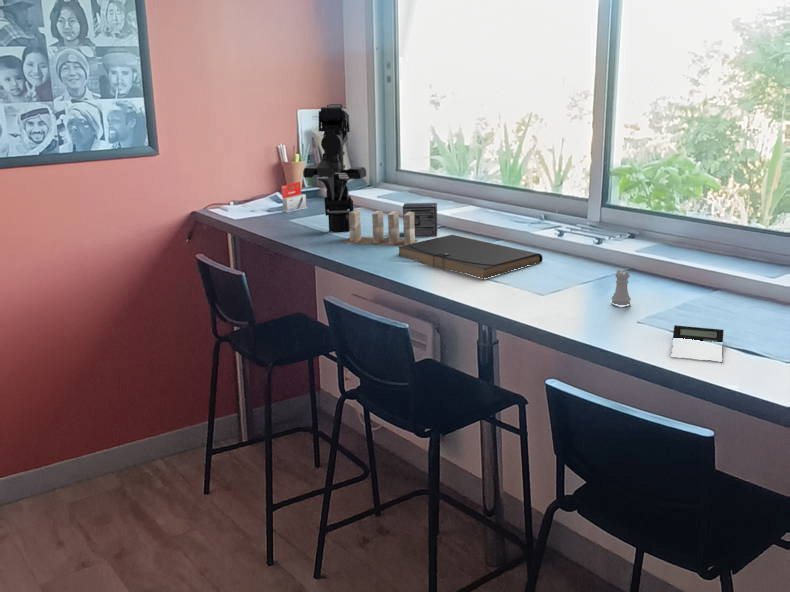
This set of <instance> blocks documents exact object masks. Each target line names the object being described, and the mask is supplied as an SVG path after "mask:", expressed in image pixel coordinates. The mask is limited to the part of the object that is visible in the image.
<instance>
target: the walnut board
mask: <svg viewBox="0 0 790 592" xmlns="http://www.w3.org/2000/svg"><path fill="white" fill-rule="evenodd" d="M416 242H419V239H415V241H414V242H413V243H416ZM342 243H343V244H344V243H345V244H359V245H361V244H362V245H377V246H378V245H379V246H397V247H401V246H405V245H404V238H399V241H398V242H396V243H395V244H389V237H388V238H386V237H384V240H383V241H381V242H380V243H373V237H370V236H369V237H367V236H366V237H365V236H361V239H359V240H358V241H356V242H350V237H348V238H346V239H345V240H344V241H342Z"/></svg>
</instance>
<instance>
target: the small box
mask: <svg viewBox="0 0 790 592" xmlns="http://www.w3.org/2000/svg"><path fill="white" fill-rule="evenodd" d="M408 212H414V224H415V238H416V237H418V238H422V237H426V238H431V237H432V238H438V203H437V202H412V203H410V202H406V203H404V204H403V206H402V215H403V216H402V218H403V219H402V220H403V224H404V215H405V214H406V213H408Z"/></svg>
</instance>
